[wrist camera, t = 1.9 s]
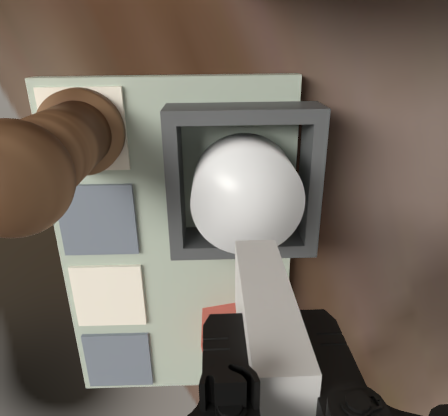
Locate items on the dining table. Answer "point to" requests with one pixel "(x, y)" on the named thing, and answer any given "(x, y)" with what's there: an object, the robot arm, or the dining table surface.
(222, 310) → the die
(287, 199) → the dome
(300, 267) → the dining table surface
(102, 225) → the board
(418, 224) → the dining table surface
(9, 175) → the pawn
